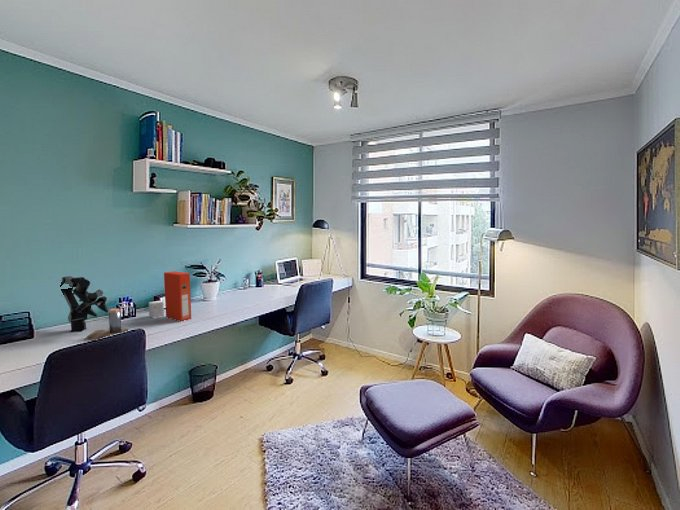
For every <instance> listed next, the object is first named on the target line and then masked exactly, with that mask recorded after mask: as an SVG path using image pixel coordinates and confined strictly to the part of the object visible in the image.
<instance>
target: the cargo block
mask: <svg viewBox="0 0 680 510" xmlns="http://www.w3.org/2000/svg"><path fill="white" fill-rule="evenodd" d="M119 311H120V308H111V309H108V314H109V313H117V312H119Z"/></svg>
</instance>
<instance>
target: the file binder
mask: <svg viewBox="0 0 680 510" xmlns="http://www.w3.org/2000/svg"><path fill="white" fill-rule="evenodd" d="M190 278H191V275H190V272H189V273H188V272H182V271H175V270H174V271H173V270H172V271H167V272H163V279H164V280H163V281H164V299H165V300H164V302H165V318H166V317H168V318H167V319H169V318H172V319H171V320H173V319H176V320H175V321H177V320H180V321H179V322H181V321H182V322H185V321H184V320H186V321H189V320H188V319H190V320H192V305H191V304H192V301H191V279H190Z"/></svg>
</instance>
